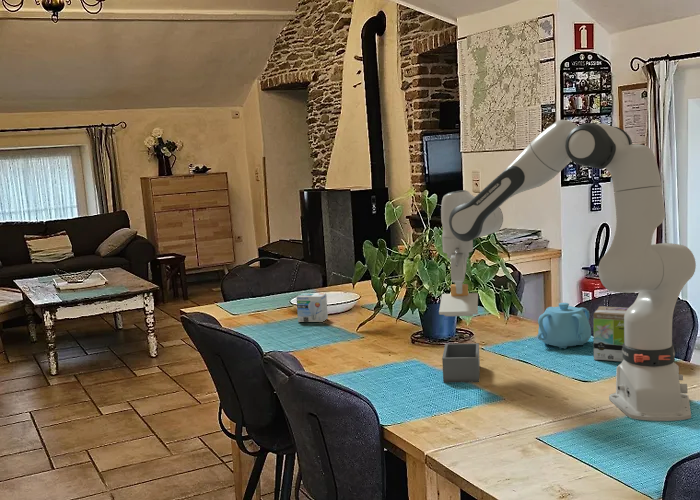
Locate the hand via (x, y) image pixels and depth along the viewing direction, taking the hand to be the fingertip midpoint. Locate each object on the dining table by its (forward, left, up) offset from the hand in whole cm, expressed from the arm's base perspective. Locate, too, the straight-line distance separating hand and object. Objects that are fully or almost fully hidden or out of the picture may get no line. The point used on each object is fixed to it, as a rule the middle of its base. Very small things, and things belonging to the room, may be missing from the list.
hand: (459, 292), depth 227 cm
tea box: (+8, -47, -23) cm, 53 cm away
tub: (-7, 0, -23) cm, 24 cm away
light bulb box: (+66, +61, -23) cm, 93 cm away
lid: (-7, 0, -3) cm, 7 cm away
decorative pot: (+25, -32, -23) cm, 47 cm away
